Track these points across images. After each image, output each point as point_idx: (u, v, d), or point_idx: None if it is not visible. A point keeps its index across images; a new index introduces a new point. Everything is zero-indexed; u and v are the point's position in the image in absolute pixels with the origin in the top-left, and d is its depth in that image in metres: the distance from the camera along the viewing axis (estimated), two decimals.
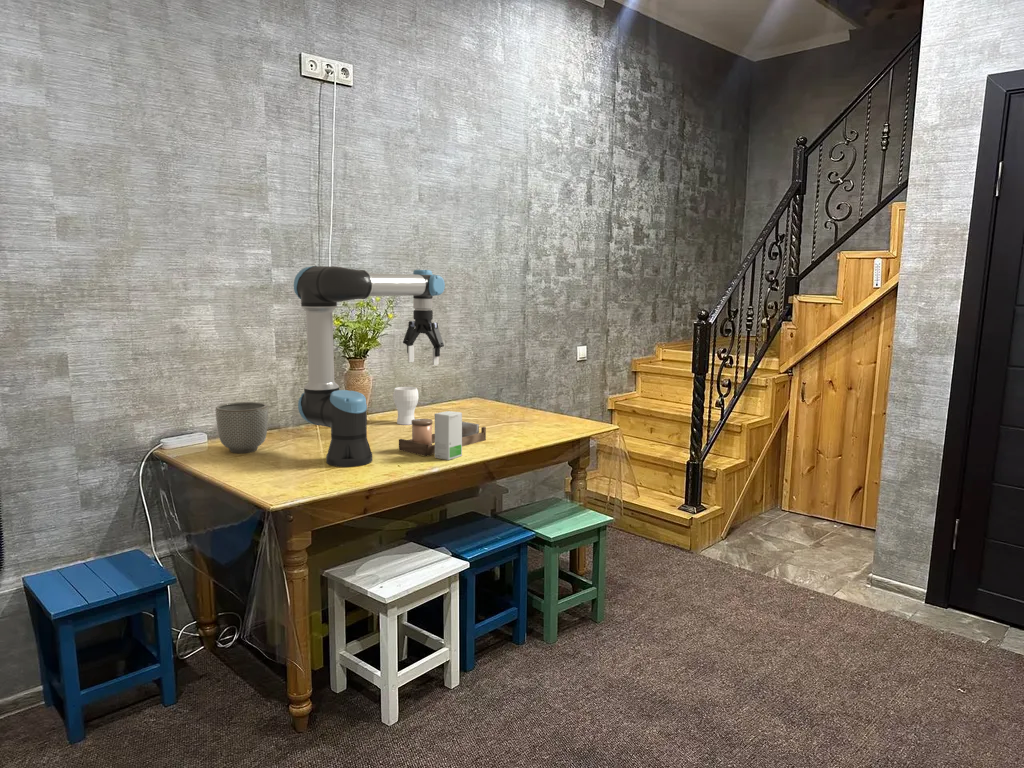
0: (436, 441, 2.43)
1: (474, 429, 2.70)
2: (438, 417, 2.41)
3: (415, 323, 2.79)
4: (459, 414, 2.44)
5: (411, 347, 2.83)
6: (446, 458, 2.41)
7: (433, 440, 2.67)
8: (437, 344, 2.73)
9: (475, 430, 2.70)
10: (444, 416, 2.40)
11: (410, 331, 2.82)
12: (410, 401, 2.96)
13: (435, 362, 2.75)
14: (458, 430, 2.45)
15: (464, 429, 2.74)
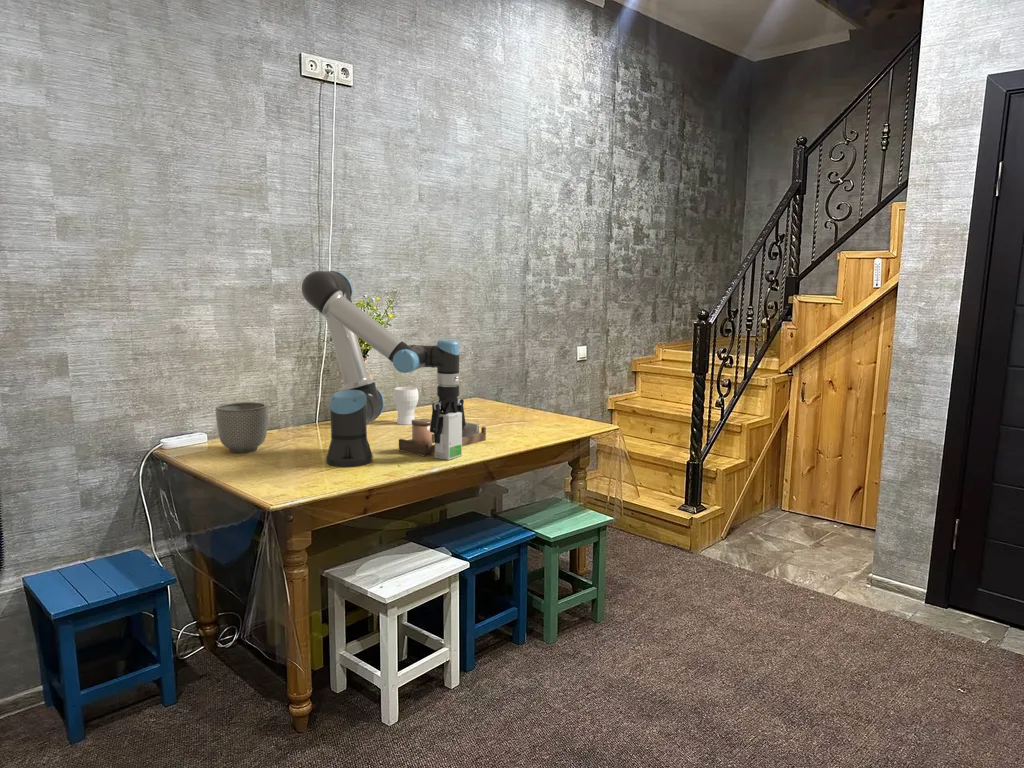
0: None
1: (474, 429, 2.70)
2: None
3: None
4: (459, 414, 2.44)
5: None
6: (446, 458, 2.41)
7: (433, 440, 2.67)
8: None
9: (475, 430, 2.70)
10: (444, 416, 2.40)
11: (458, 410, 2.49)
12: (410, 401, 2.96)
13: (437, 449, 2.42)
14: (458, 430, 2.45)
15: (464, 429, 2.74)
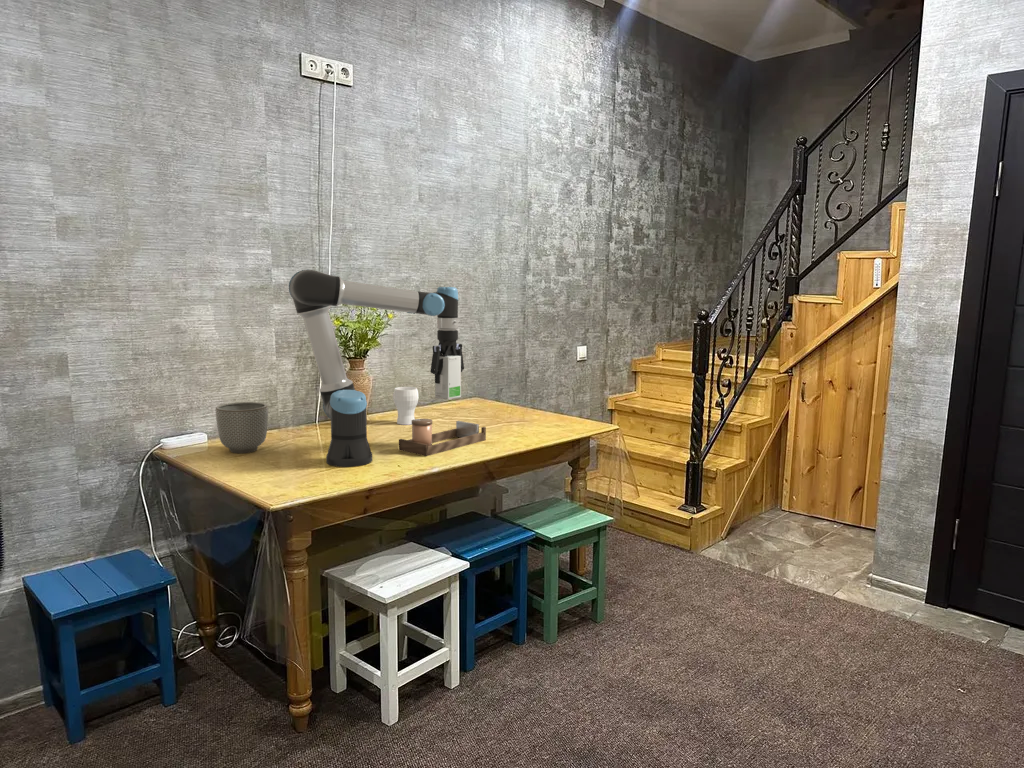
0: None
1: (474, 429, 2.70)
2: None
3: None
4: (458, 357, 2.60)
5: None
6: (446, 398, 2.57)
7: (433, 440, 2.67)
8: None
9: (475, 430, 2.70)
10: (444, 358, 2.56)
11: (457, 354, 2.65)
12: (410, 401, 2.96)
13: (437, 389, 2.58)
14: (457, 372, 2.60)
15: (464, 429, 2.74)
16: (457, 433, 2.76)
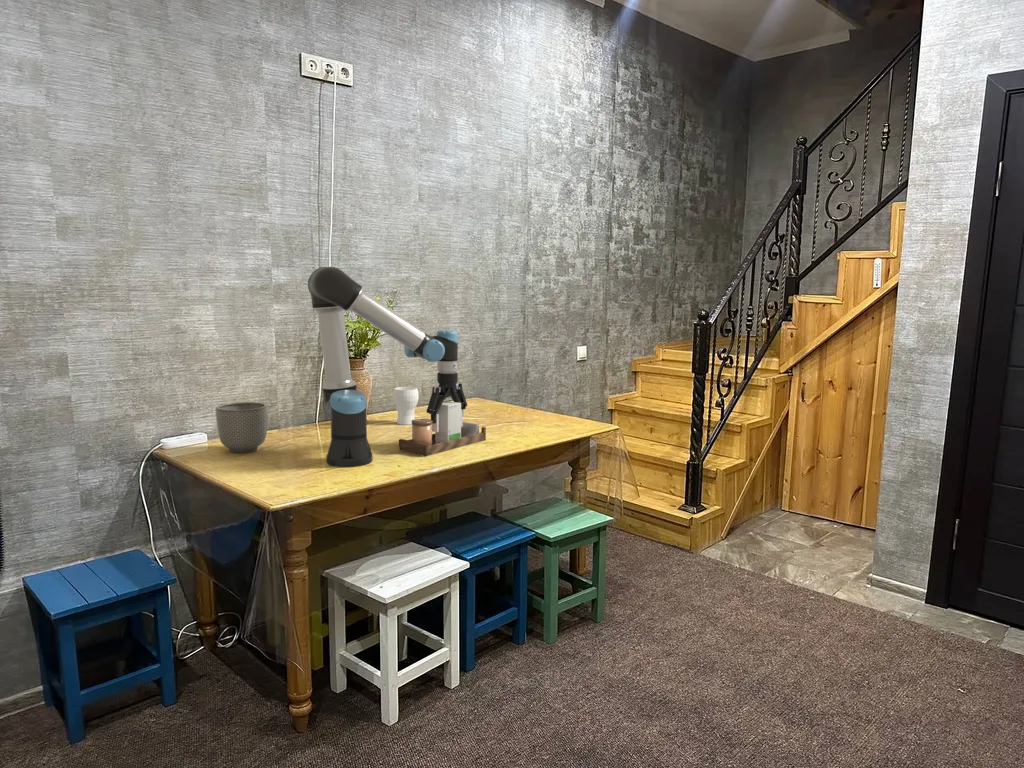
0: None
1: (474, 429, 2.70)
2: None
3: None
4: (458, 404, 2.63)
5: None
6: None
7: (433, 440, 2.67)
8: None
9: (475, 430, 2.70)
10: (444, 406, 2.59)
11: (458, 393, 2.68)
12: (410, 401, 2.96)
13: (433, 428, 2.59)
14: (457, 419, 2.63)
15: (464, 429, 2.74)
16: None
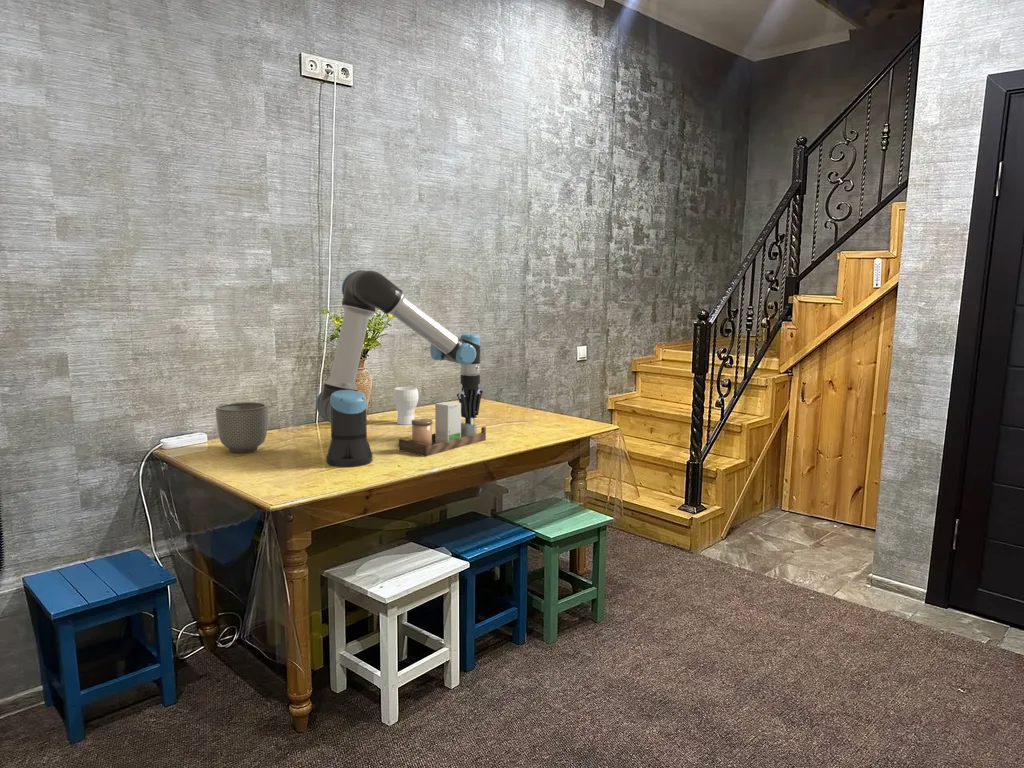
0: (436, 429, 2.62)
1: (472, 429, 2.69)
2: (438, 407, 2.61)
3: None
4: (458, 404, 2.63)
5: None
6: None
7: (433, 440, 2.67)
8: None
9: (473, 431, 2.69)
10: (444, 406, 2.59)
11: None
12: (410, 401, 2.96)
13: None
14: (457, 419, 2.63)
15: (462, 430, 2.72)
16: None
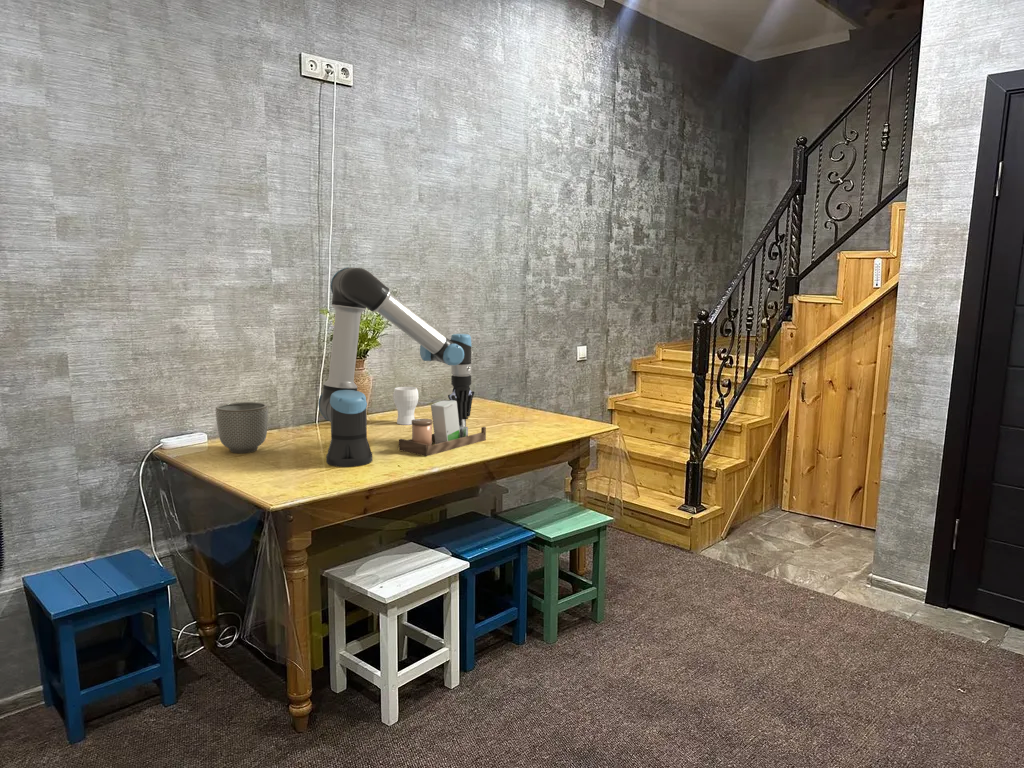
0: (434, 430, 2.61)
1: (463, 432, 2.65)
2: (434, 408, 2.59)
3: None
4: (454, 403, 2.61)
5: None
6: None
7: (433, 440, 2.67)
8: None
9: (464, 433, 2.65)
10: (439, 407, 2.57)
11: (466, 400, 2.72)
12: (410, 401, 2.96)
13: None
14: (454, 418, 2.62)
15: None
16: None
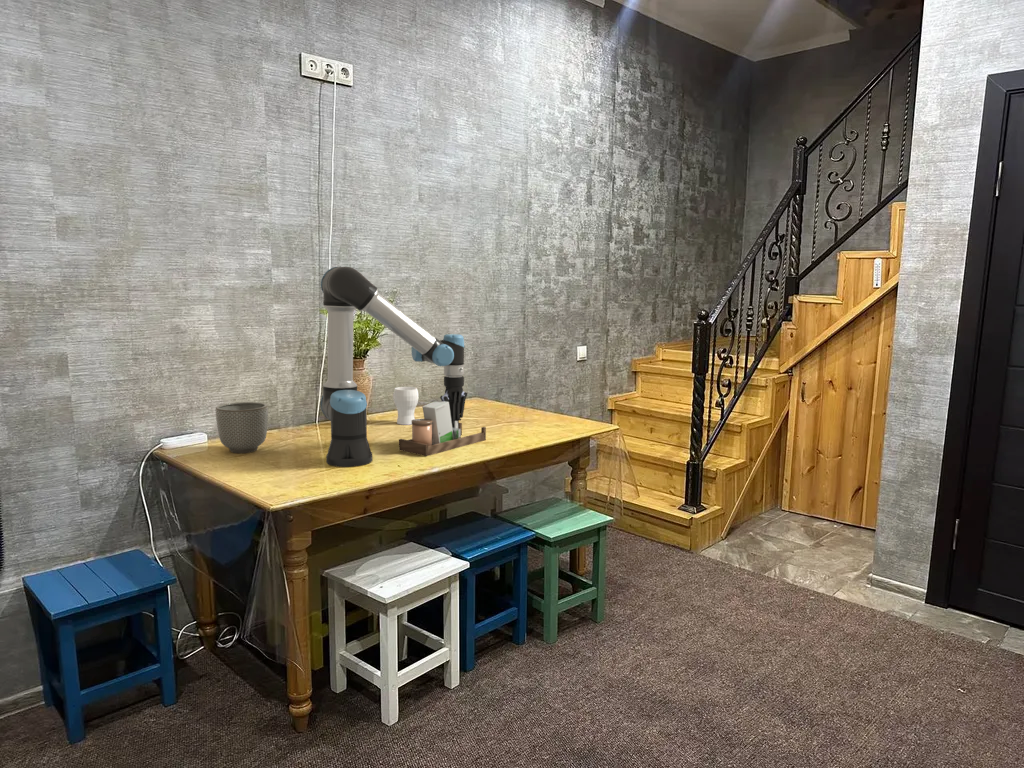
0: None
1: (456, 433, 2.62)
2: (426, 409, 2.56)
3: None
4: (446, 404, 2.58)
5: None
6: None
7: None
8: None
9: (457, 435, 2.62)
10: (431, 409, 2.54)
11: (459, 401, 2.69)
12: (410, 401, 2.96)
13: None
14: (447, 419, 2.59)
15: None
16: None
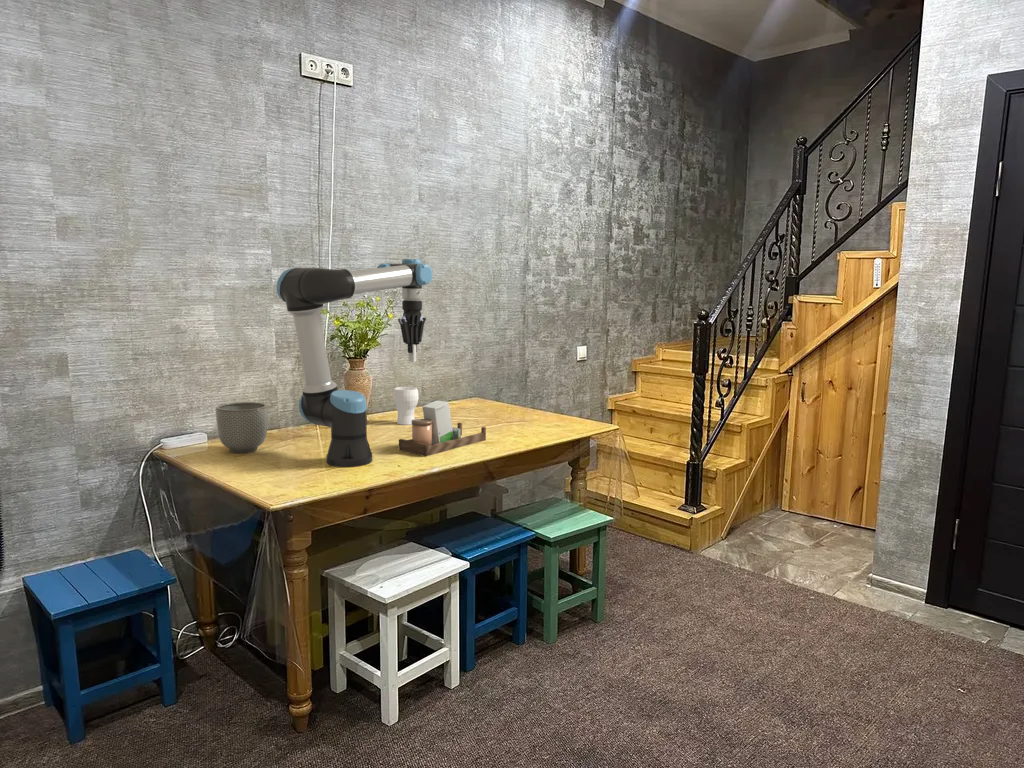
0: None
1: (456, 433, 2.62)
2: (426, 409, 2.56)
3: None
4: (446, 404, 2.58)
5: None
6: None
7: None
8: None
9: (457, 435, 2.62)
10: (431, 409, 2.54)
11: (418, 326, 2.75)
12: (410, 401, 2.96)
13: (410, 358, 2.74)
14: (447, 419, 2.59)
15: None
16: None
